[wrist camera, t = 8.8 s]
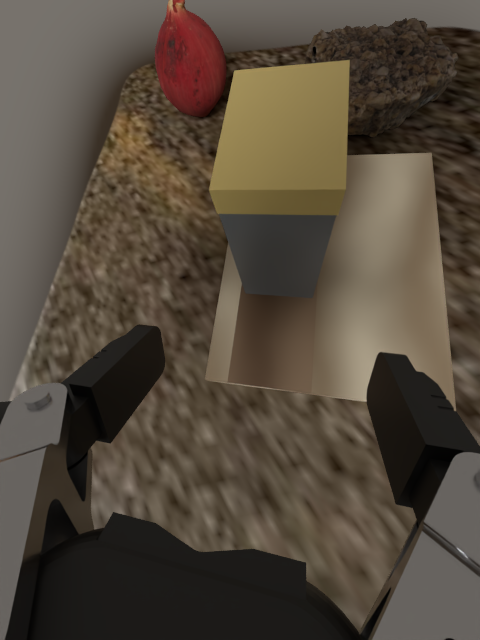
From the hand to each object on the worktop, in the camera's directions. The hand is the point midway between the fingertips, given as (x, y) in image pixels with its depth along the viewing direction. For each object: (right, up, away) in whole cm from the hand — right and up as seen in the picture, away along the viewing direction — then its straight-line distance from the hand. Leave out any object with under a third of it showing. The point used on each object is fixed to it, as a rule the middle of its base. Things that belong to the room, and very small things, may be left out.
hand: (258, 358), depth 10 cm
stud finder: (+2, +6, +8) cm, 10 cm away
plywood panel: (+5, +5, +9) cm, 12 cm away
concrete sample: (+11, +20, +13) cm, 27 cm away
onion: (-4, +21, +16) cm, 27 cm away
